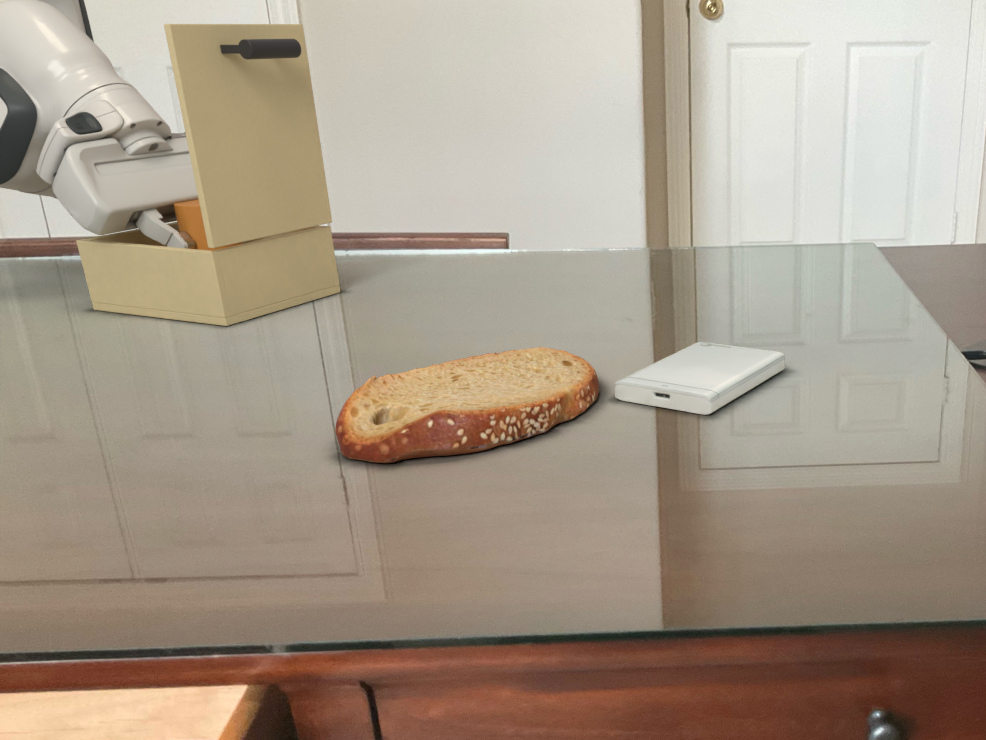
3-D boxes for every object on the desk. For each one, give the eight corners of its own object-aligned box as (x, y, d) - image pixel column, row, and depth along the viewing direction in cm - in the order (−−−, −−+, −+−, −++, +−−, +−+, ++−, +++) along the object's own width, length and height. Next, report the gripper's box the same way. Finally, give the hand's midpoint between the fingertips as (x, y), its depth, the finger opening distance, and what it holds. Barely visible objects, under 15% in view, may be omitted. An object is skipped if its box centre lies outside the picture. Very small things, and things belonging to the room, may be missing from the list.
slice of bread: (594, 372, 87) (592, 326, 85) (613, 450, 71) (610, 395, 69) (363, 386, 84) (356, 338, 82) (328, 469, 68) (318, 412, 66)
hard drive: (696, 340, 89) (613, 378, 80) (785, 352, 86) (711, 393, 76) (696, 359, 90) (614, 400, 80) (785, 372, 87) (711, 416, 77)
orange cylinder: (198, 301, 107) (178, 207, 103) (189, 291, 111) (169, 200, 108) (257, 294, 110) (240, 202, 106) (246, 284, 114) (228, 196, 110)
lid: (163, 23, 90) (203, 23, 89) (297, 24, 103) (334, 24, 102) (207, 247, 98) (245, 251, 97) (327, 222, 111) (362, 225, 110)
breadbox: (93, 310, 107) (75, 240, 105) (215, 279, 120) (203, 216, 118) (226, 326, 101) (211, 252, 98) (340, 292, 114) (330, 226, 111)
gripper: (193, 152, 118) (279, 248, 119) (19, 174, 101) (121, 286, 102) (215, 109, 115) (303, 208, 115) (38, 124, 98) (144, 241, 98)
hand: (216, 245), depth 108 cm, fingers closed on orange cylinder, 6 cm apart
